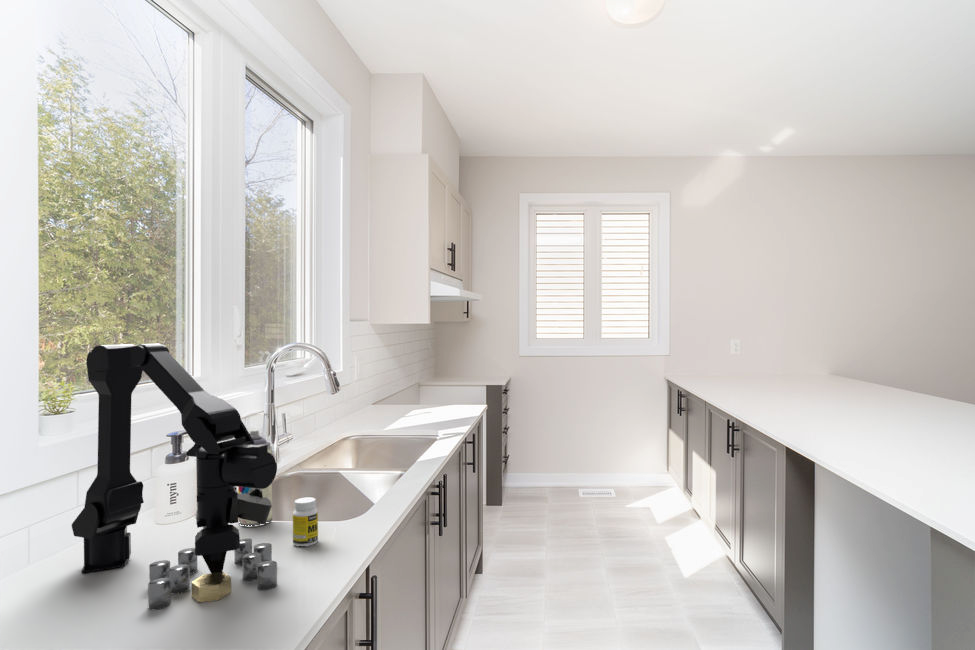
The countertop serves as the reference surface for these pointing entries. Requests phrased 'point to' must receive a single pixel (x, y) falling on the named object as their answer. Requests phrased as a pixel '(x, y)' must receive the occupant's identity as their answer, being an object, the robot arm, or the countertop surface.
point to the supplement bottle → (305, 522)
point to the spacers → (179, 576)
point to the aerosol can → (265, 492)
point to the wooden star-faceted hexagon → (211, 586)
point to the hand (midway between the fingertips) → (217, 577)
